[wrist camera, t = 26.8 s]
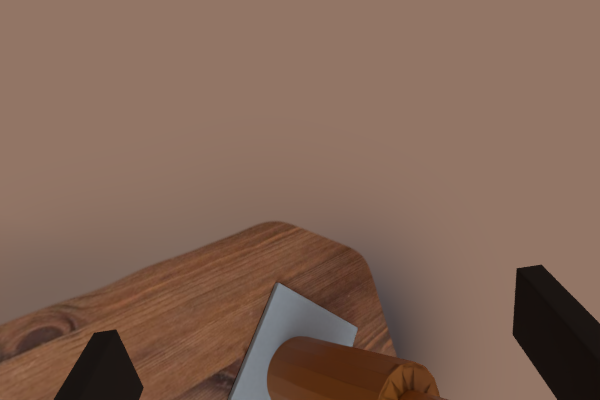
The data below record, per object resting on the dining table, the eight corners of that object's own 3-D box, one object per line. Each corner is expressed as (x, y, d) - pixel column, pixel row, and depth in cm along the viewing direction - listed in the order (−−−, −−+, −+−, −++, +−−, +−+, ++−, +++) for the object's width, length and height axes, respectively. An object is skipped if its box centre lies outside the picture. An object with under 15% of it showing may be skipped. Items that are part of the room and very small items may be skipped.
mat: (275, 282, 41) (278, 282, 41) (354, 327, 47) (358, 327, 46) (214, 430, 36) (217, 432, 35) (312, 461, 41) (315, 464, 41)
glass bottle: (256, 360, 38) (410, 418, 24) (311, 322, 43) (471, 353, 28) (281, 429, 39) (446, 525, 25) (333, 385, 43) (500, 445, 29)
